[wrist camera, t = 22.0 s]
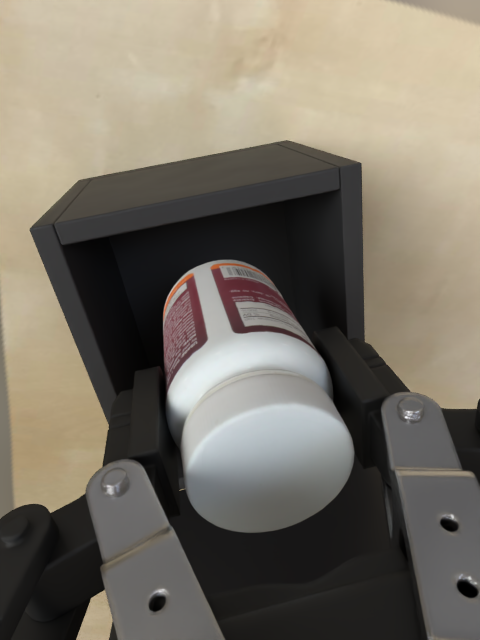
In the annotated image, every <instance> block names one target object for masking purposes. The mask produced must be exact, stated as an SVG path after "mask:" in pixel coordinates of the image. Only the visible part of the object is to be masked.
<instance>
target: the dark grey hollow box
mask: <svg viewBox="0 0 480 640" xmlns="http://www.w3.org/2000/svg"><path fill="white" fill-rule="evenodd" d="M30 232H31V234H32V237H33V239H34V242H35V244H36V247H37V249H38V252H39V254H40V257H41V259H42V262H43V264H44V266H45V269H46V271H47V274H48V276H49V279H50V281H51V284H52V286H53V289H54V291H55V294H56V296H57V298H58V301H59V303H60V306H61V308H62V311H63V313H64V316H65V318H66V321H67V323H68V326H69V328H70V330H71V333H72V335H73V338H74V340H75V343H76V345H77V348H78V350H79V353H80V355H81V358H82V360H83V362H84V365H85V367H86V370H87V372H88V375H89V377H90V380H91V382H92V385H93V387H94V390H95V392H96V394H97V397H98V399H99V402H100V404H101V407H102V409H103V412H104V414H105V417H106V419H107V422H108V424H109V421H110V419H111V418H110V415H111V408H112V404H113V402H114V401H115V399H116V398H117V396H118V395H119V393H120V392H121V391H125V390H129V389H133V387H134V375H135V371H139V370H143V369H148V368H152V367H157V366H160V368H161V370H162V373H163V377H164V380H165V370H164V367H165V364H164V335H163V312H164V306H165V303H166V300H167V297H168V295H169V293H170V291H171V289H172V288H173V286H174V285H175V284H176V283H177V281H178V280H179V279H180V278H181V277H182V276H183V275H184V274H186V273H187V272H188V271H189V270H191V269H193V268H195V267H197V266H199V265H202V264H205V263H208V262H212V261H217V260H237V261H241V262H245V263H247V264H250V265H252V266H254V267H256V268H257V269H259V270H260V271H262V272H263V273H264V274H265V275H267V276H268V278H269V279H270V280H271V281H272V282H273V284H274V285H275V287H276V288H277V290H278V291H279V292H280V294H281V295H282V297H283V299H284V301H285V302H286V304H287V305H288V307H289V308H290V310H291V311H292V313H293V314H294V316H295V318H296V319H297V321H298V322H299V324H300V325H301V327H302V328H303V330H304V331H305V333H306V335H307V336H308V338H309V339H310V341H311V342H312V344H313V341H312V333H313V331H318V330H322V329H326V328H331V327H335V326H336V327H338V328H339V329H340V331H341V332H342V333H343V335H344V336H345V337H346V338H347V340H350V339H354V338H358V339H360V340H362V341H364V342H365V335H364V280H363V225H362V170H361V163H359V162H356V161H353V160H350V159H346V158H343V157H340V156H337V155H333V154H330V153H327V152H324V151H321V150H317V149H314V148H311V147H308V146H304V145H301V144H298V143H295V142H290V141H287V140H286V141H281V142H276V143H271V144H266V145H260V146H255V147H250V148H245V149H239V150H234V151H229V152H224V153H218V154H213V155H208V156H203V157H198V158H192V159H187V160H182V161H177V162H171V163H166V164H161V165H156V166H150V167H145V168H140V169H135V170H129V171H124V172H119V173H114V174H109V175H103V176H98V177H93V178H88V179H82V180H79V181H78V182H77V183H76V184H75V185H74V186H73V187H72V188H71V189H70V190H69V191H68V192H67V193H65V194H64V195H63V196H62V197H61V198H60V199H59V200H58V201H57V202H56V203H55V204H54V205H53V206H52V207H51V208H50V209H49V210H48V211H47V212H46V213H45V214H44V215H43V216H42V217H41V218H40V219H39V220H38V221H37V222H36V223H35V224H34V225H33V226H32V227H31V228H30ZM177 458H178V478H179V490H181V489H185V484H184V476H183V466H182V459H181V452H180V449H179V448H178V446H177Z"/></svg>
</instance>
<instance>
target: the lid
mask: <svg viewBox="0 0 480 640" xmlns="http://www.w3.org/2000/svg"><path fill="white" fill-rule="evenodd" d="M179 497H180V515H179V516H175V517H171V518H170V526H172V527H173V529H174V531H175V533H176V535H177V537H178V539H179V542H180V544H181V546H182V548H183V550H184V552H185V554H186V557H187V559H188V561H189V563H190V565H191V567H192V570H193V572H194V574H195V576H196V578H197V580H198V582H199V585H200V587H201V589H202V591H203V593H204V595H205V598H206V600H207V602H208V596H212V595H216V594H219V593H223V592H227V591H230V590H234V589H238V588H242V587H245V586H249V585H253V584H308V583H311V582H313V581H315V580H317V579H318V578H320V577H322V576H323V575H325V574H327V573H328V572H330V571H332V570H333V569H335V568H337V567H338V566H340V565H342V564H343V563H345V562H347V561H348V560H350V559H352V558H353V557H357V556H361V555H365V554H368V553H372V552H376V551H379V550H383V549H387V548H390V546H389V539H388V532H387V525H386V518H385V511H384V504H383V497H382V490H381V473H380V472H379V470H378V468H377V467H376V466H375V467H371V468H367V469H363V467H362V465H361V464H360V462H359V460H358V458H357V456H356V455H355V454H354V463H353V467H352V470H351V473H350V476H349V478H348V480H347V482H346V484H345V485H344V487H343V488H342V490H341V491H340V492H339V494H338V495H337V496H336V497H335V498H334V499H333V500H332V501H331V502H330V503H329V504H328V505H327V506H325V507H324V508H323V509H322V510H320V511H319V512H317V513H316V514H314V515H312V516H311V517H309V518H307V519H305V520H303V521H301V522H299V523H297V524H294V525H292V526H289V527H286V528H282V529H279V530H274V531H267V532H258V533H244V532H237V531H231V530H227V529H223V528H220V527H218V526H216V525H214V524H212V523H210V522H209V521H207V520H206V519H204V518H203V517H202V516H201V515H199V514H198V513H197V511H196V510H195V509H194V507H193V506H192V505H191V503H190V501H189V498H188V496H187V493H186V489H184V490H180V491H179ZM109 640H118V638H117V634H116V630H115V626H114V622H113V623H112V628H111V633H110V638H109Z"/></svg>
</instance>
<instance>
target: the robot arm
mask: <svg viewBox="0 0 480 640" xmlns="http://www.w3.org/2000/svg"><path fill="white" fill-rule="evenodd" d="M312 341H313V345H314V347H315V348H316V350H317V351H318V353H319V354H320V355H321V357H322V358H323V360H324V361H325V363H326V365H327V367H328V369H329V372H330V376H331V379H332V384H333V396H334V397H333V403H334V405H335V407H336V409H337V411H338V413H339V414H340V416H341V418H342V419H343V421H344V423H345V425H346V426H347V428H348V430H349V432H350V434H351V437H352V440H353V445H354V452H355V455H356V456H357V458H358V460H359V462H360V464H361V465H362V467H363V469H367V468H371V467H375V466H376V467H377V468H378V470H379V472H380V473H381V490H382V497H383V504H384V511H385V518H386V525H387V532H388V539H389V546H390V548H387V549H383V550H379V551H376V552H372V553H368V554H365V555H361V556H357V557H353V558H352V559H350V560H348V561H347V562H345V563H343V564H342V565H340V566H338V567H337V568H335V569H333V570H332V571H330V572H328V573H327V574H325V575H323V576H322V577H320V578H318V579H317V580H315V581H313V582H311V583H308V584H253V585H249V586H245V587H242V588H238V589H234V590H230V591H227V592H223V593H219V594H216V595H212V596H208V602H207V600H206V598H205V595H204V593H203V591H202V589H201V587H200V585H199V582H198V580H197V578H196V576H195V574H194V572H193V570H192V567H191V565H190V563H189V561H188V559H187V557H186V554H185V552H184V550H183V548H182V546H181V544H180V542H179V539H178V537H177V535H176V533H175V531H174V529H173V527H172V526H170V518H171V517H175V516H179V515H180V497H179V478H178V458H177V445H176V443H175V442H174V440H173V438H172V436H171V433H170V430H169V427H168V423H167V419H166V411H165V380H164V377H163V373H162V370H161V368H160V366H157V367H152V368H148V369H143V370H139V371H135V375H134V387H133V389H129V390H125V391H121V392H120V393H119V395H118V396H117V398H116V399H115V401H114V402H113V404H112V408H111V415H110V418H111V419H110V421H109V430H108V434H107V441H106V447H105V454H104V460H103V467H102V468H101V469H99V470H98V471H97V472H96V473H95V474H94V475H93V476H92V478H91V479H90V480H89V482H88V484H87V487H86V493H85V494H84V495H83V496H81V497H80V498H79V499H77V500H75V501H73V502H71V503H70V504H68V505H66V506H64V507H62V508H60V509H58V510H56V511H54V512H52V513H50V512H49V511H48V509H47V508H46V507H44V506H43V505H39V504H28V505H24V506H21V507H19V508H16V509H14V510H12V511H11V512H9V513H8V514H6V515H5V516H3V517H2V518H1V519H0V640H76V638H77V635H78V632H79V630H80V627H81V624H82V622H83V619H84V616H85V613H86V611H87V608H88V605H89V602H90V599H91V598H92V597H93V596H95V595H97V594H98V593H100V592H102V591H103V590H105V591H106V595H107V599H108V603H109V607H110V610H111V614H112V618H113V622H114V626H115V630H116V634H117V638H118V640H480V399H479V401H478V405H477V409H444V408H440V406H439V405H438V404H437V403H436V402H435V401H434V400H433V399H431V398H429V397H427V396H425V395H422V394H419V393H414V392H410V390H409V389H408V388H407V387H406V386H405V385H404V383H403V382H402V381H401V380H400V379H399V378H398V376H397V375H396V374H395V373H394V372H393V371H392V370H391V368H390V367H389V366H388V365H386V363H385V361H384V360H383V359H382V358H381V357H379V354H378V353H377V352H376V351H375V350H374V349H373V347H372V346H371V345H370V344H368V343H366V342H364V341H362V340H360V339H358V338H354V339H350V340H347V338H346V337H345V336H344V335H343V333H342V332H341V331H340V329H339V328H338V327H336V326H335V327H331V328H326V329H322V330H318V331H313V333H312Z"/></svg>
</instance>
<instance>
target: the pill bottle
mask: <svg viewBox="0 0 480 640" xmlns="http://www.w3.org/2000/svg"><path fill="white" fill-rule="evenodd" d="M163 335H164V364H165V367H164V370H165V411H166V419H167V423H168V427H169V430H170V433H171V436H172V438H173V440H174V442H175V443H176V445H177V446H178V448H179V449H180V452H181V459H182V466H183V476H184V484H185V489H186V493H187V496H188V498H189V501H190V503H191V505H192V506H193V507H194V509H195V510H196V511H197V513H198V514H199V515H201V516H202V517H203V518H204V519H206V520H207V521H209V522H210V523H212V524H214V525H216V526H218V527H220V528H223V529H227V530H231V531H237V532H244V533H258V532H267V531H274V530H279V529H282V528H286V527H289V526H292V525H294V524H297V523H299V522H301V521H303V520H305V519H307V518H309V517H311V516H312V515H314V514H316V513H317V512H319V511H320V510H322V509H323V508H324V507H325V506H327V505H328V504H329V503H330V502H331V501H332V500H333V499H334V498H335V497H336V496H337V495H338V494H339V492H340V491H341V490H342V488H343V487H344V485H345V484H346V482H347V480H348V478H349V476H350V473H351V470H352V467H353V463H354V454H355V452H354V445H353V440H352V437H351V434H350V432H349V430H348V428H347V426H346V425H345V423H344V421H343V419H342V418H341V416H340V414H339V413H338V411H337V409H336V407H335V405H334V403H333V397H334V396H333V384H332V379H331V376H330V372H329V369H328V367H327V365H326V363H325V361H324V360H323V358H322V357H321V355H320V354H319V353H318V351H317V350H316V348H315V347H314V345H313V344H312V342H311V341H310V339H309V338H308V336H307V335H306V333H305V331H304V330H303V328H302V327H301V325H300V324H299V322H298V321H297V319H296V318H295V316H294V314H293V313H292V311H291V310H290V308H289V307H288V305H287V304H286V302H285V301H284V299H283V297H282V295H281V294H280V292H279V291H278V290H277V288H276V287H275V285H274V284H273V282H272V281H271V280H270V279H269V278H268V276H267V275H265V274H264V273H263V272H262V271H260V270H259V269H257V268H256V267H254V266H252V265H250V264H247V263H245V262H241V261H237V260H217V261H212V262H208V263H205V264H202V265H199V266H197V267H195V268H193V269H191V270H189V271H188V272H187V273H186V274H184V275H183V276H182V277H181V278H180V279H179V280H178V281H177V283H176V284H175V285H174V286H173V288H172V289H171V291H170V293H169V295H168V297H167V300H166V303H165V306H164V312H163Z"/></svg>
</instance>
